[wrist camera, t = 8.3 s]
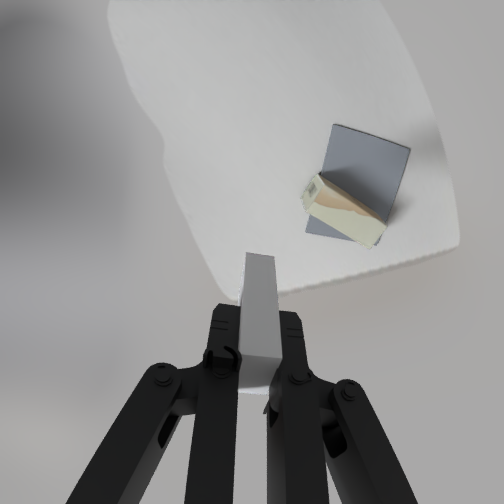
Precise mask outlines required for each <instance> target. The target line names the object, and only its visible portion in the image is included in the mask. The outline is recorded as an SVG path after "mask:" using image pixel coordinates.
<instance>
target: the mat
mask: <svg viewBox="0 0 504 504" xmlns="http://www.w3.org/2000/svg"><path fill="white" fill-rule="evenodd" d="M409 151H410V149H407V148H405V147H402V146H399V145H397V144H394V143H391V142H388V141H386V140H383V139H380V138H377V137H374V136H371V135H368V134H365V133H361V132H358V131H355V130H352V129H348V128H345V127H341V126H338V125H334V124H333V127H332V131H331V136H330V140H329V144H328V148H327V152H326V156H325V160H324V164H323V168H322V172H321V176H322V177H324V178H325V179H327V180H328V181H330V182H332V183H333V184H335V185H336V186H338V187H339V188H341V189H342V190H344V191H345V192H347V193H348V194H350V195H351V196H353V197H354V198H356V199H357V200H359V201H360V202H362V203H363V204H365V205H366V206H367V207H369V208H370V209H372V210H373V211H375V212H376V213H377V214H378V215H379V216H380V217H381V219H382V220H383V221H384V222H385V223H386V220H387V218H388V215H389V212H390V210H391V207H392V204H393V201H394V198H395V195H396V193H397V190H398V187H399V184H400V180H401V177H402V174H403V171H404V168H405V164H406V161H407V158H408V154H409ZM305 232H306V233H311V234H317V235H322V236H328V237H333V238H339V239H344V240H350V241H354V240H353V239H351V238H350V237H348V236H346V235H345V234H343V233H341V232H340V231H338V230H336V229H335V228H333V227H331V226H330V225H328V224H326V223H324V222H323V221H321V220H319V219H318V218H316V217H314V216H312V215H311V214H310V217H309V220H308V224H307V228H306V231H305ZM379 239H380V237H379ZM379 239H378V240H377V241H376V242H375V244H374V245H376V246H377V243H378V241H379ZM355 242H356V241H355Z"/></svg>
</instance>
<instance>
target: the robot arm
mask: <svg viewBox="0 0 504 504" xmlns="http://www.w3.org/2000/svg"><path fill="white" fill-rule="evenodd" d="M268 391H269V401H268V402H267V405H266V407H265V409H264V412H263V414H266V412H267V504H329V494H328V483H327V471H326V463H327V466H328V468H329V471H330V474H331V476H332V479H333V481H334V484H335V487H336V489H337V492H338V495H339V497H340V499H341V502H342V504H418V503H417V500H416V498H415V496H414V493H413V491H412V489H411V487H410V485H409V482H408V480H407V478H406V476H405V474H404V471H403V469H402V467H401V465H400V463H399V461H398V459H397V457H396V454H395V452H394V451H393V448H392V446H391V444H390V442H389V440H388V438H387V436H386V434H385V432H384V430H383V428H382V426H381V424H380V422H379V419H378V418H377V416H376V414H375V411H374V410H373V408H372V406H371V404H370V402H369V400H368V398H367V396H366V394H365V392H364V390H363V388H362V387H361V386H360V384H358V383H357V382H355V381H353V380H350V379H343V380H341V381H339V382H337V384H334V383H331V382H328V381H324V380H322V379H320V378H318V377H317V376H315V375H314V374H313V372H312V371H311V370H310V369H309V367H308V362H307V355H306V349H305V341H304V335H303V329H302V322H301V319H300V318H299V316H298V315H297V313H296V312H288V311H279V307H278V294H277V283H276V271H275V260H274V256H268V255H261V254H254V253H247V252H246V255H245V261H244V266H243V272H242V278H241V283H240V289H239V298H238V306H235V305H227V304H220V303H219V304H218V305H217V306H216V308H215V309H214V310H213V314H212V320H211V326H210V332H209V338H208V343H207V349H206V350H205V352H204V354H203V361H202V362H201V363H199V364H198V365H196V366H194V367H190V368H184V369H177V368H176V367H175V366H173V365H171V364H168V363H156V364H154V365H152V366H150V367H149V368H148V369H147V370H146V372H145V373H144V375H143V377H142V378H141V380H140V381H139V383H138V385H137V386H136V388H135V389H134V391H133V392H132V394H131V396H130V397H129V399H128V400H127V402H126V403H125V405H124V407H123V408H122V410H121V411H120V413H119V415H118V416H117V418H116V420H115V421H114V423H113V424H112V426H111V428H110V429H109V431H108V433H107V434H106V436H105V437H104V439H103V441H102V442H101V444H100V446H99V447H98V449H97V451H96V452H95V454H94V456H93V457H92V459H91V461H90V462H89V464H88V466H87V467H86V469H85V471H84V473H83V474H82V476H81V478H80V479H79V481H78V483H77V484H76V486H75V488H74V490H73V492H72V493H71V495H70V497H69V498H68V500H67V502H66V504H139V502H140V500H141V498H142V496H143V494H144V492H145V490H146V488H147V486H148V484H149V482H150V480H151V478H152V476H153V474H154V472H155V470H156V468H157V466H158V464H159V462H160V460H161V458H162V456H163V454H164V452H165V450H166V448H167V446H168V444H169V442H170V440H171V438H172V435H173V433H174V431H175V429H176V427H177V425H178V423H179V421H180V419H181V417H182V416H183V415H190V414H195V421H194V429H193V436H192V444H191V451H190V459H189V467H188V475H187V483H186V493H185V501H184V504H233V487H234V465H235V444H236V443H235V442H236V424H237V405H238V392H241V393H252V394H264V395H267V393H268Z"/></svg>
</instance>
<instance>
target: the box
mask: <svg viewBox="0 0 504 504" xmlns="http://www.w3.org/2000/svg"><path fill="white" fill-rule="evenodd" d="M301 201H302V204H303V207H304V209H305V211H306V212H307V213H309V214H311V215H312V216H314V217H316V218H318V219H319V220H321V221H323V222H324V223H326V224H328V225H330V226H331V227H333V228H335V229H336V230H338V231H340V232H341V233H343V234H345V235H346V236H348V237H350V238H351V239H353V240H354V241H356V242H358V243H359V244H361V245H363V246H364V247H366V248H367V249H371V248H372V246H373V245H374V244H375V242H376V241H377V240H378V239H379V237H380V236H381V235H382V233H383V232H384V231H385V229H386V228H387V225H386V224H385V222H384V221H383V220H382V219H381V217H380V216H379V215H378V214H377V213H376V212H375V211H373V210H372V209H370V208H369V207H367V206H366V205H365V204H363V203H362V202H360V201H359V200H357V199H356V198H354V197H353V196H351V195H350V194H348V193H347V192H345V191H344V190H342V189H341V188H339V187H338V186H336V185H335V184H333V183H332V182H330V181H328V180H327V179H325V178H324V177H322V176H321V175H319V174H316V175H315V177H314V178H313V180H312V181H311V182H310V184H309V186H308V187H307V188H306V190H305V191H304V193H303V195H302V196H301Z"/></svg>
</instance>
